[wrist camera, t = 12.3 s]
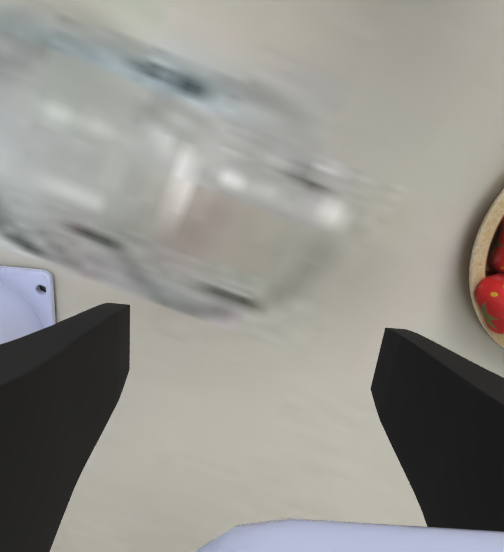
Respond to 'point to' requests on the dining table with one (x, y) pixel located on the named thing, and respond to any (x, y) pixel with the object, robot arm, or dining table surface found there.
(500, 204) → the toy food set
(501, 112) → the dining table surface
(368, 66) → the dining table surface
